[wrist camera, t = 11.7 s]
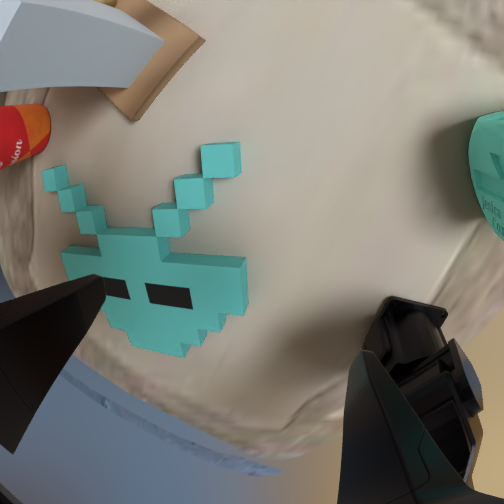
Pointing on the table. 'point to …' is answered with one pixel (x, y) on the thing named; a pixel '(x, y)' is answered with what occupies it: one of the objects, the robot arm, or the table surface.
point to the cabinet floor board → (163, 61)
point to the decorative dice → (489, 167)
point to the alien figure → (159, 262)
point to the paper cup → (23, 132)
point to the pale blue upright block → (71, 45)
